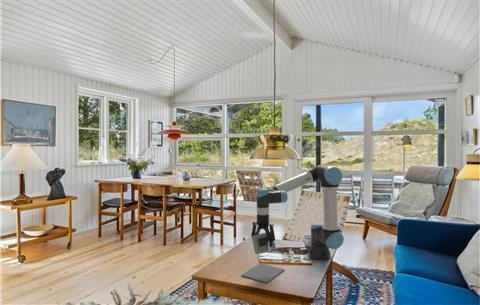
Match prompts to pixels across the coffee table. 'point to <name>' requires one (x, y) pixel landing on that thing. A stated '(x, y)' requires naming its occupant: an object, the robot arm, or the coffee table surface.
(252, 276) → the mat
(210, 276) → the coffee table surface
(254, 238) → the digital clock
